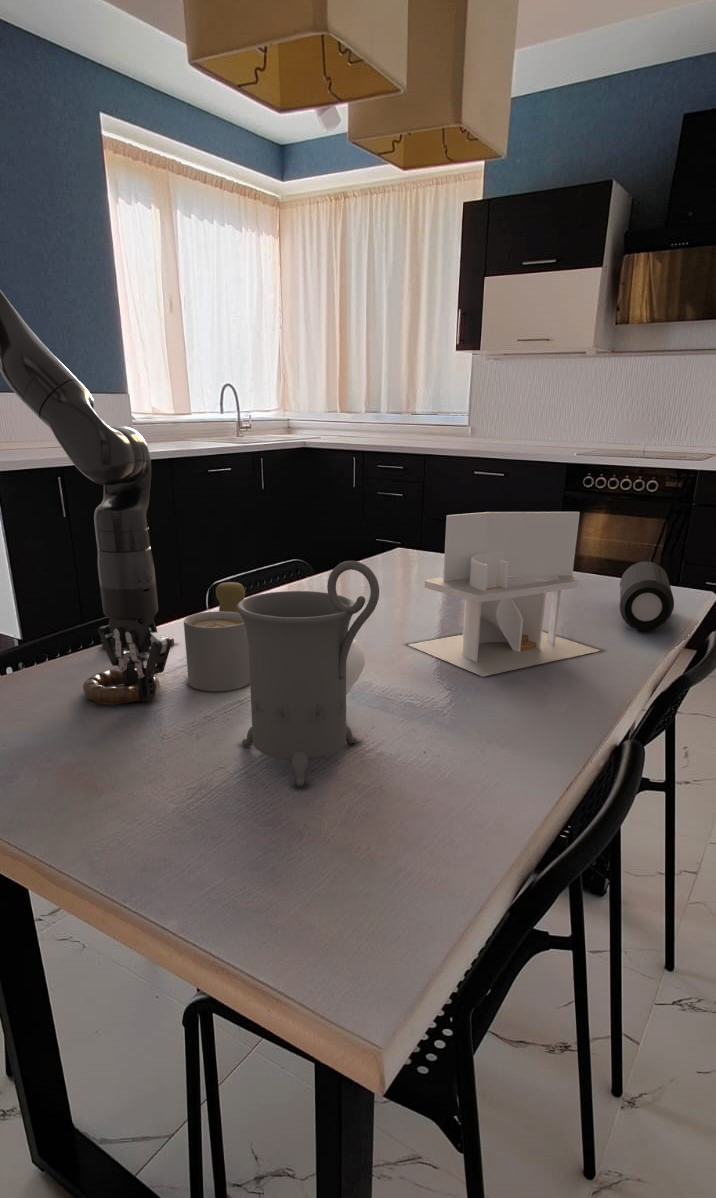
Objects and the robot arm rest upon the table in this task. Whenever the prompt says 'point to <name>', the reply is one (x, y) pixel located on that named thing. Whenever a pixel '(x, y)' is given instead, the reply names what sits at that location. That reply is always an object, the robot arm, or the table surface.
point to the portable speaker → (645, 596)
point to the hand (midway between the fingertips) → (140, 696)
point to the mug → (302, 668)
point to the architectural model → (506, 589)
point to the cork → (229, 596)
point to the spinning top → (354, 664)
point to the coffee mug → (217, 651)
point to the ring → (112, 688)
